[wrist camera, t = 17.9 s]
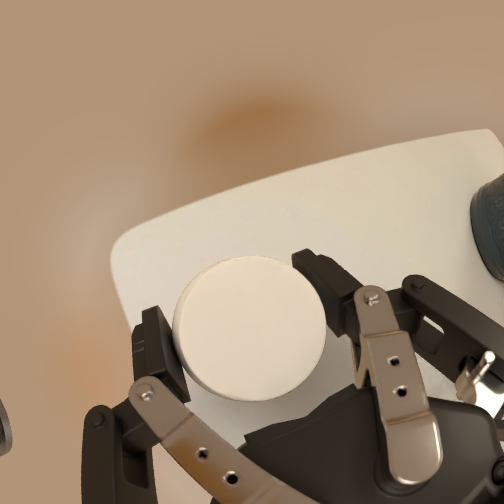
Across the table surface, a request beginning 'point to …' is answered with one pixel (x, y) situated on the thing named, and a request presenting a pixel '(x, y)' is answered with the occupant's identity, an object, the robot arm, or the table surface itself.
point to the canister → (490, 224)
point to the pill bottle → (249, 328)
